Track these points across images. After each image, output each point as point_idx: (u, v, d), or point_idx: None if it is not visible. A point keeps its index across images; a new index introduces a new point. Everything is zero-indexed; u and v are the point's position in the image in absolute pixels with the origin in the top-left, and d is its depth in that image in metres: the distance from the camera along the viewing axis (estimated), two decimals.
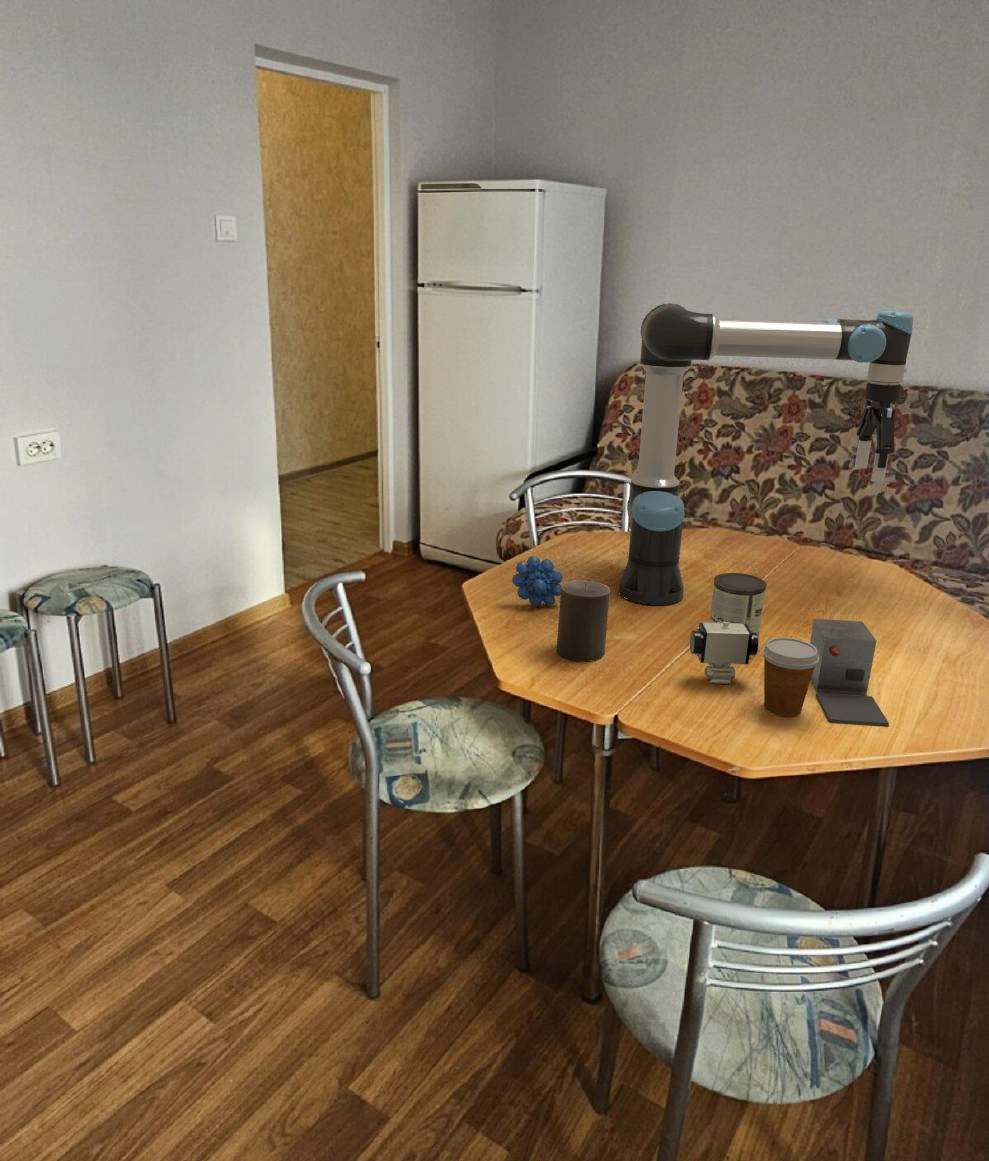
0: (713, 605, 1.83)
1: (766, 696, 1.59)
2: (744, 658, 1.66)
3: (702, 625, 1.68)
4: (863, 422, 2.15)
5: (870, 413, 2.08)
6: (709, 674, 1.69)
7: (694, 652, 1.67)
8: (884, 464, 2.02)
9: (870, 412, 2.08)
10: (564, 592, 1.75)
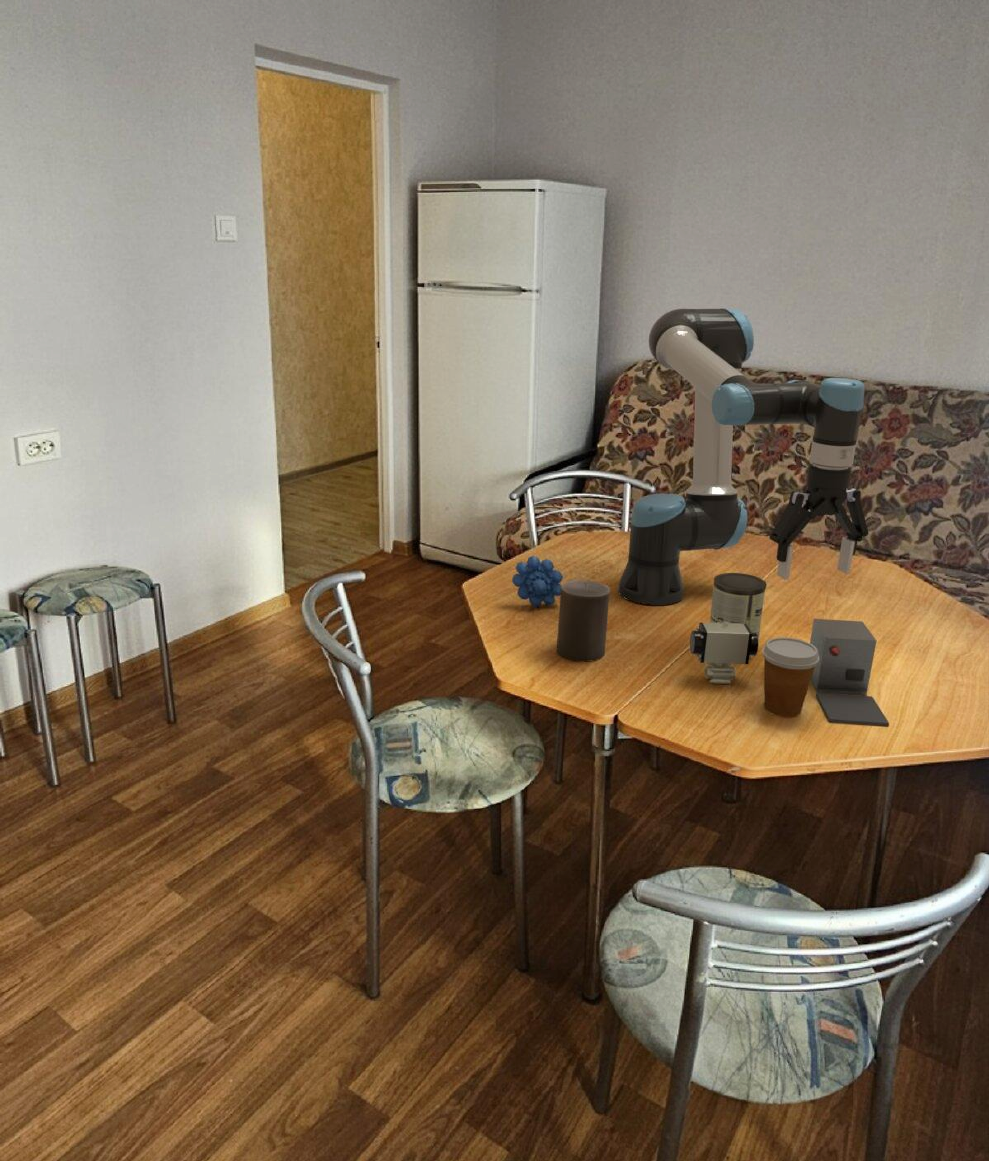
0: (713, 605, 1.83)
1: (766, 696, 1.59)
2: (744, 658, 1.66)
3: (702, 625, 1.68)
4: (851, 516, 1.72)
5: None
6: (709, 674, 1.69)
7: (694, 652, 1.67)
8: (779, 557, 1.69)
9: None
10: (564, 592, 1.75)
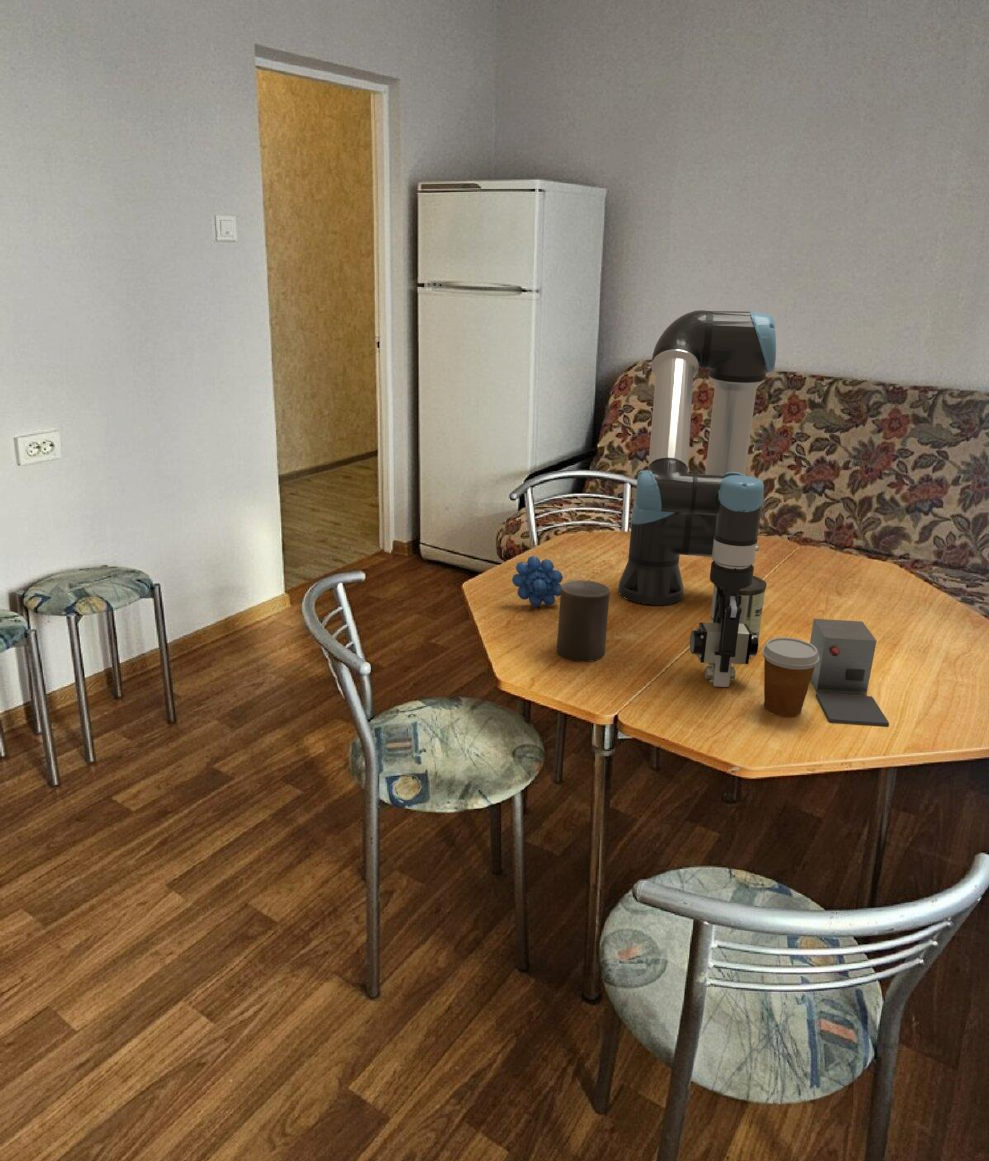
0: (713, 605, 1.83)
1: (766, 696, 1.59)
2: (744, 658, 1.66)
3: (702, 625, 1.68)
4: (716, 612, 1.72)
5: (719, 597, 1.66)
6: (709, 674, 1.69)
7: (694, 652, 1.67)
8: (726, 668, 1.65)
9: (718, 595, 1.66)
10: (564, 592, 1.75)
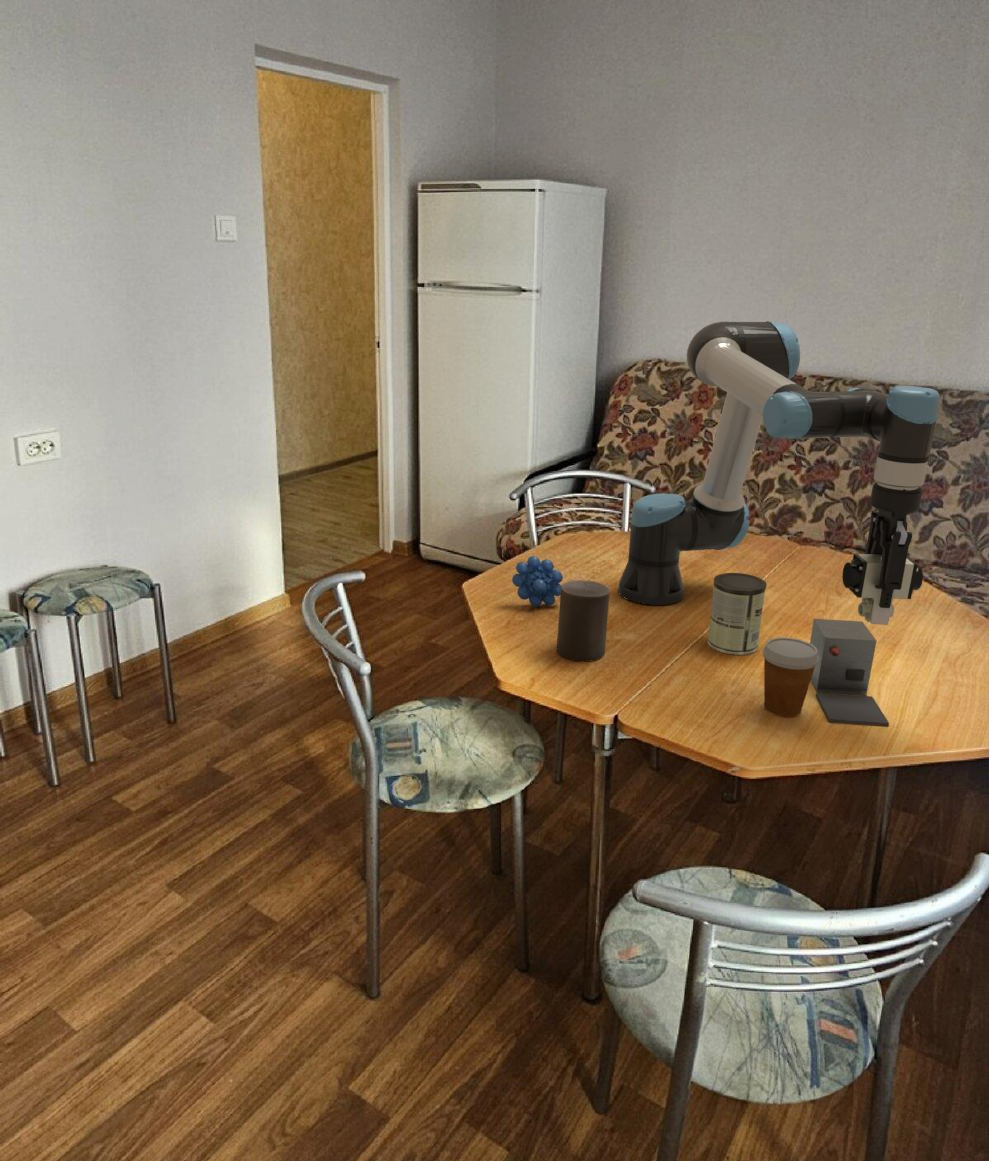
0: (713, 605, 1.83)
1: (766, 696, 1.59)
2: (906, 592, 1.50)
3: (858, 556, 1.51)
4: (871, 544, 1.55)
5: (879, 524, 1.50)
6: (865, 611, 1.52)
7: (850, 586, 1.50)
8: (887, 603, 1.49)
9: (878, 523, 1.50)
10: (564, 592, 1.75)
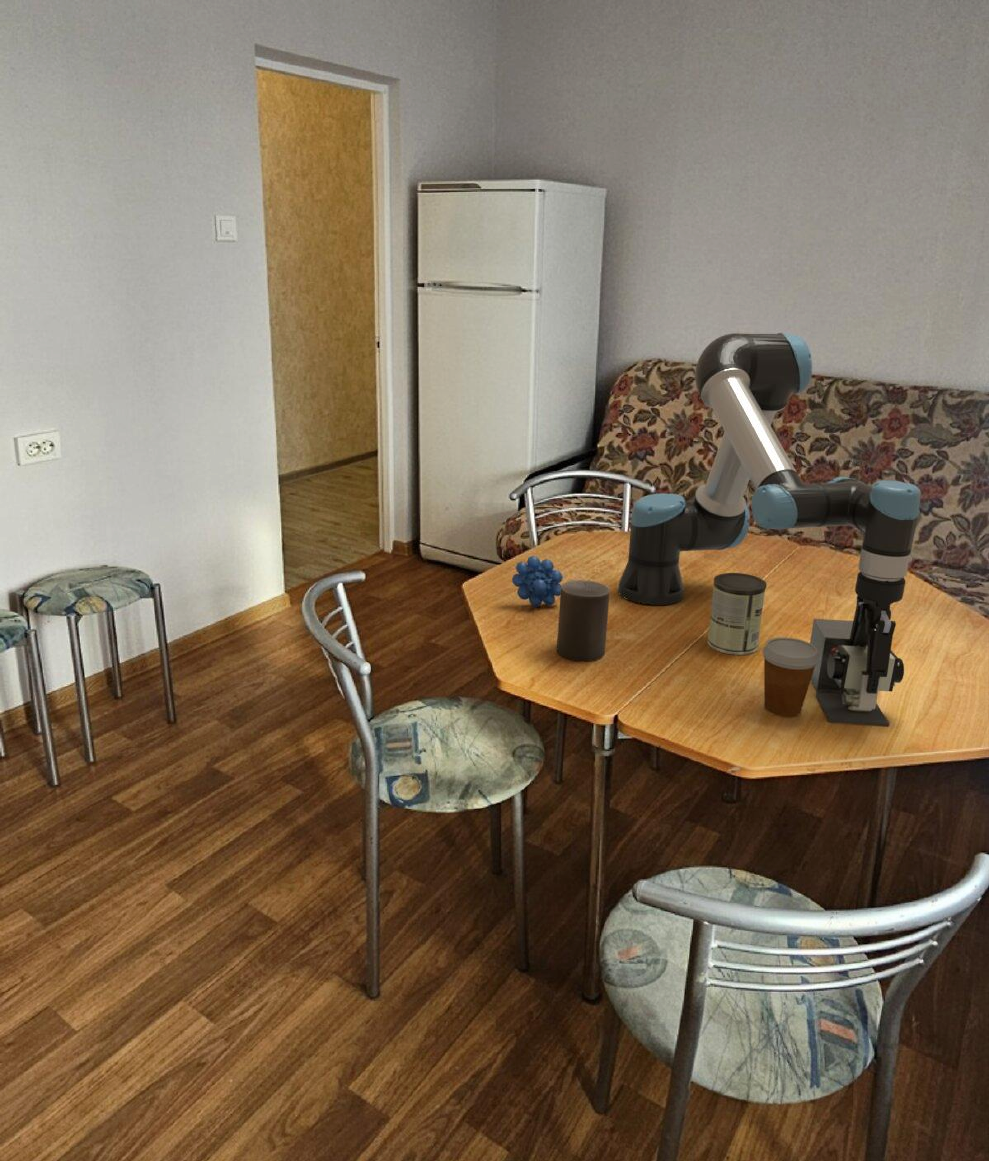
0: (713, 605, 1.83)
1: (766, 696, 1.59)
2: (888, 685, 1.56)
3: (842, 648, 1.58)
4: (856, 626, 1.60)
5: (863, 611, 1.55)
6: (848, 701, 1.59)
7: (834, 676, 1.57)
8: (874, 689, 1.53)
9: (863, 610, 1.55)
10: (564, 592, 1.75)
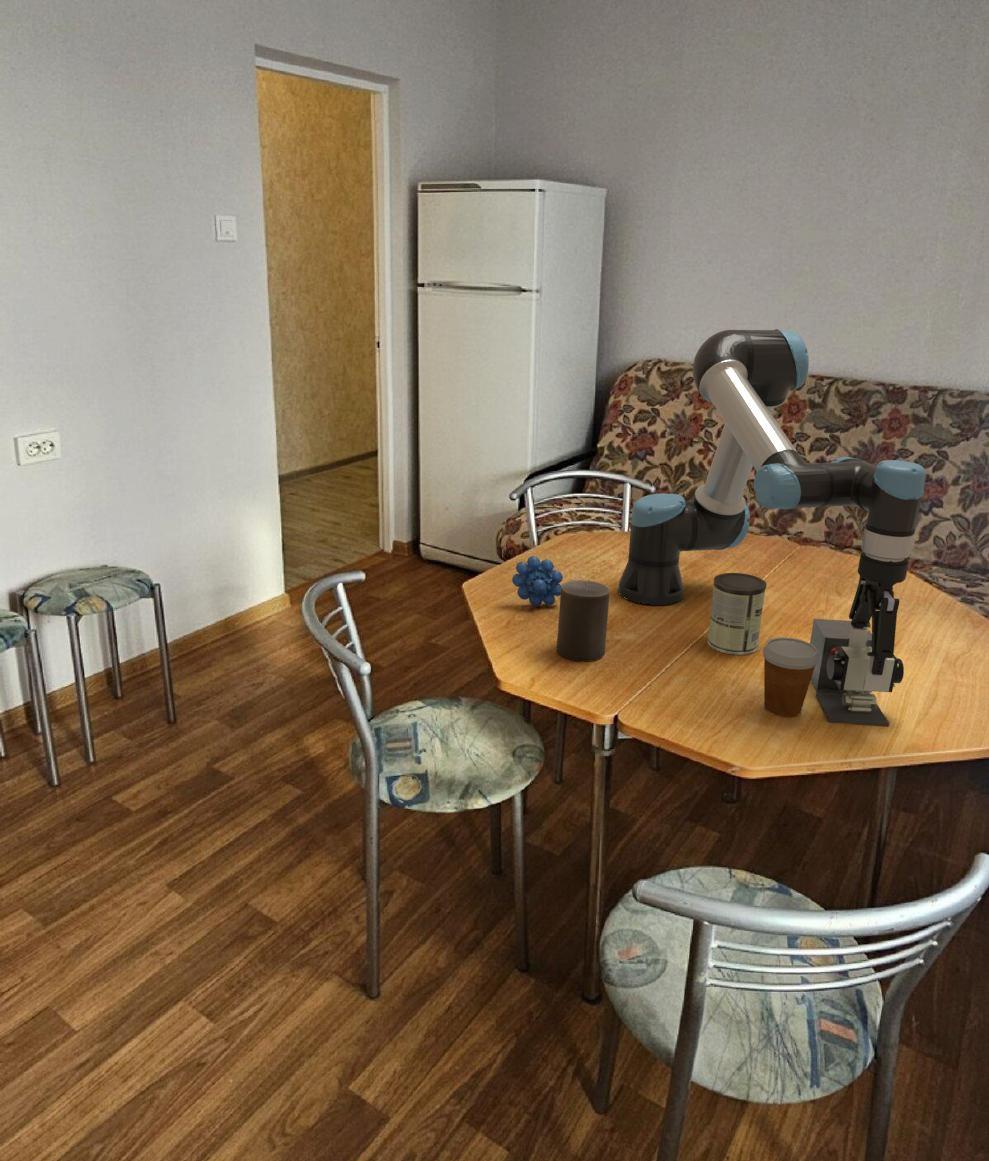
0: (713, 605, 1.83)
1: (766, 696, 1.59)
2: (888, 686, 1.56)
3: (842, 649, 1.57)
4: (857, 602, 1.60)
5: (866, 592, 1.54)
6: (848, 702, 1.59)
7: (833, 678, 1.57)
8: (880, 671, 1.50)
9: (866, 591, 1.53)
10: (564, 592, 1.75)
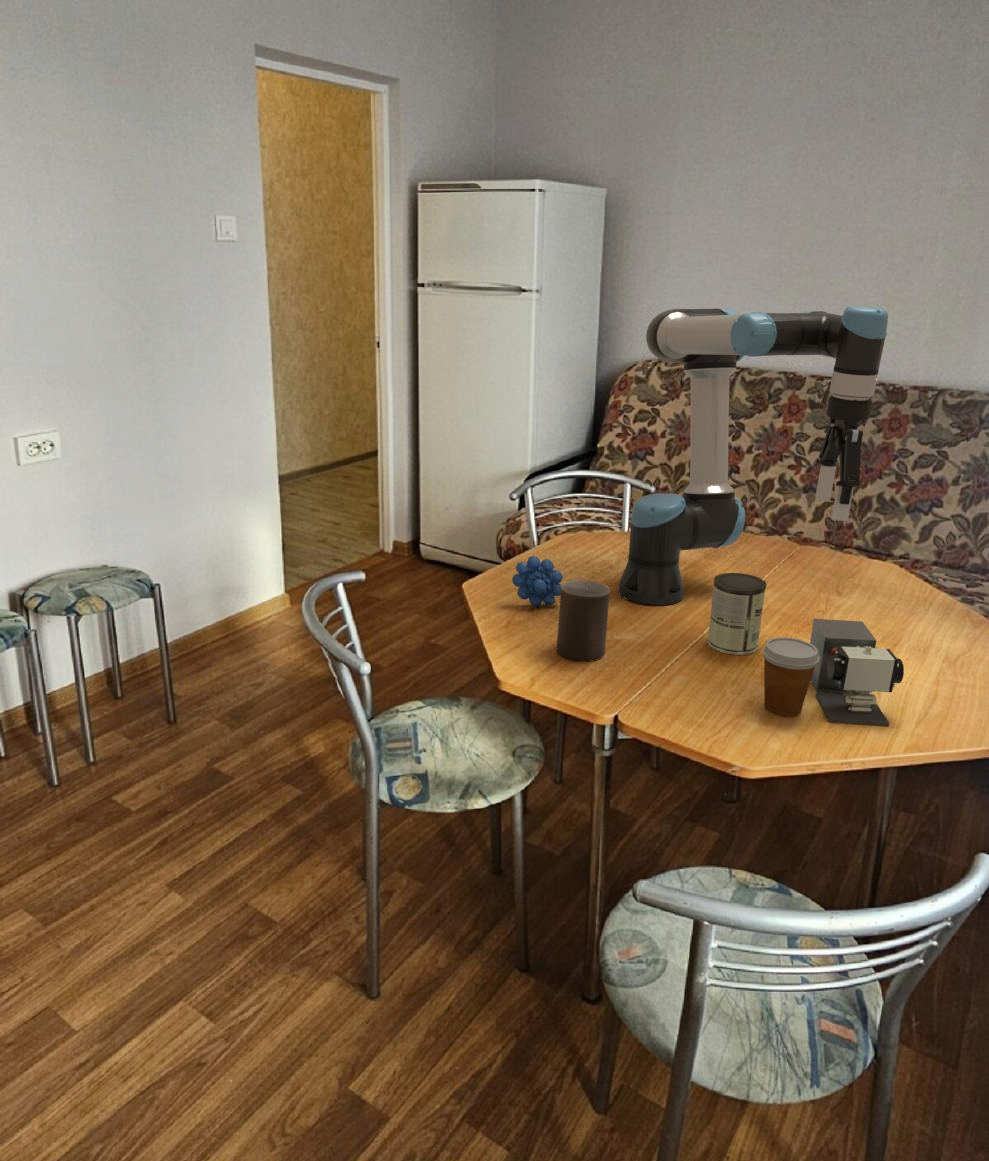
0: (713, 605, 1.83)
1: (766, 696, 1.59)
2: (888, 686, 1.56)
3: (842, 649, 1.57)
4: (826, 443, 1.74)
5: (833, 434, 1.67)
6: (848, 702, 1.59)
7: (833, 678, 1.57)
8: (847, 500, 1.62)
9: (833, 432, 1.67)
10: (564, 592, 1.75)
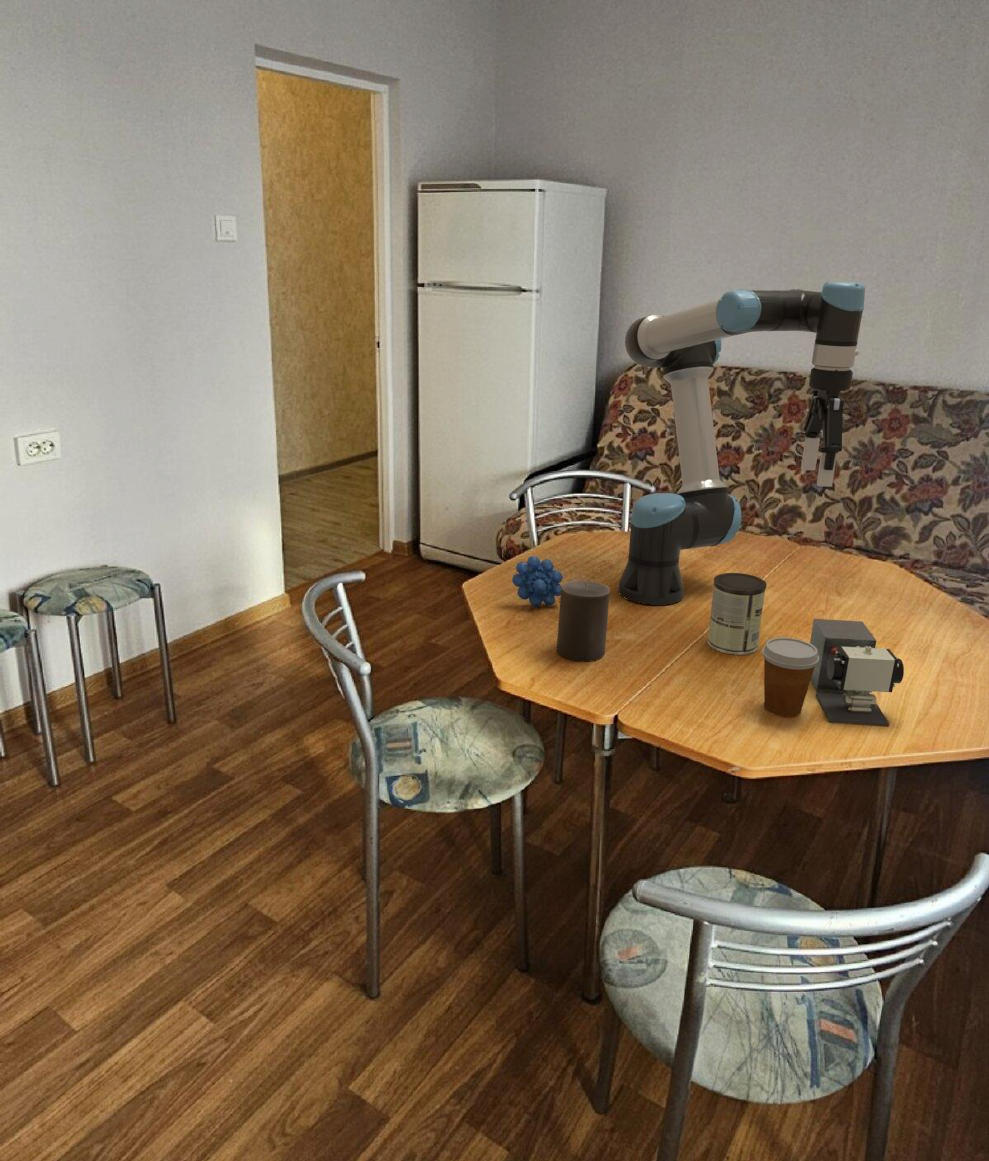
0: (713, 605, 1.83)
1: (766, 696, 1.59)
2: (888, 686, 1.56)
3: (842, 649, 1.57)
4: (810, 416, 1.81)
5: (816, 405, 1.74)
6: (848, 702, 1.59)
7: (833, 678, 1.57)
8: (831, 466, 1.69)
9: (816, 403, 1.74)
10: (564, 592, 1.75)
